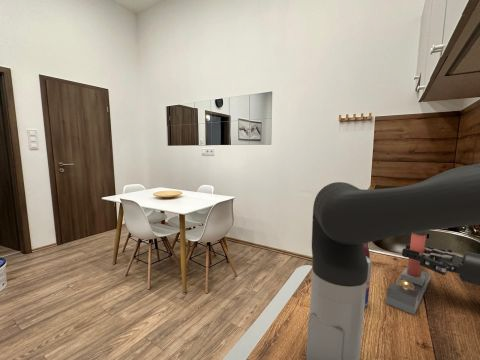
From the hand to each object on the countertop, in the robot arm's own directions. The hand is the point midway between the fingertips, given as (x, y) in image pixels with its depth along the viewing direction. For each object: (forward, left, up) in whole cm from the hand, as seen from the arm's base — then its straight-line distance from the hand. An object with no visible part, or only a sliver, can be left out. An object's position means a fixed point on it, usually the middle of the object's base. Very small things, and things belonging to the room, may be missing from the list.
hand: (404, 250), depth 71 cm
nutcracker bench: (-3, -3, -10) cm, 11 cm away
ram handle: (0, -3, -8) cm, 8 cm away
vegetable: (+6, +16, -10) cm, 20 cm away
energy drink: (-19, +6, -10) cm, 22 cm away
